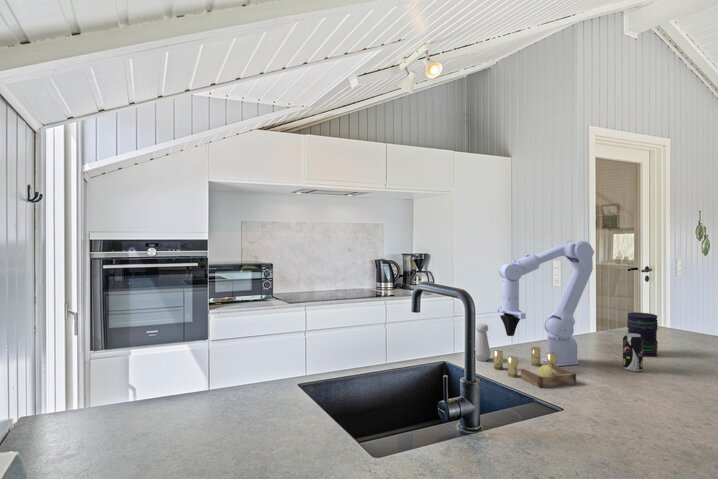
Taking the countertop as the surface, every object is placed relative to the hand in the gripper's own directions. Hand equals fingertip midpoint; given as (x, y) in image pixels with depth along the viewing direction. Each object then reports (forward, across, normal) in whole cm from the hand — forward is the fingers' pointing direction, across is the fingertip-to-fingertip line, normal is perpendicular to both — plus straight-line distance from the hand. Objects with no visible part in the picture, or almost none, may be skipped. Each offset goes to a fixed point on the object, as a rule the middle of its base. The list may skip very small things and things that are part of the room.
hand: (510, 335), depth 156 cm
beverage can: (+10, +18, +35) cm, 41 cm away
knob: (+10, +19, 0) cm, 22 cm away
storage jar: (+10, +3, +56) cm, 57 cm away
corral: (+10, +19, 0) cm, 21 cm away
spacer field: (+10, +8, 0) cm, 13 cm away
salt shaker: (+10, -7, -7) cm, 14 cm away
